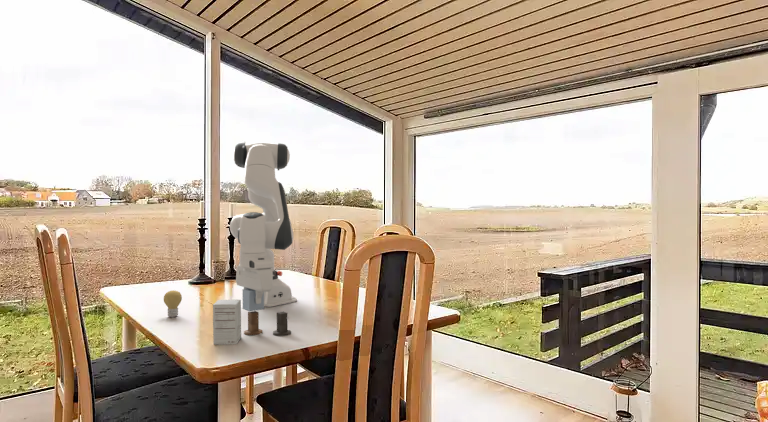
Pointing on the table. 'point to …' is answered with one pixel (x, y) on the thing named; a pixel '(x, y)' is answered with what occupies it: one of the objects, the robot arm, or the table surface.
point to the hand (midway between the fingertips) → (253, 301)
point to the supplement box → (226, 322)
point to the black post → (282, 325)
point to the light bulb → (172, 302)
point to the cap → (251, 300)
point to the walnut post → (253, 324)
